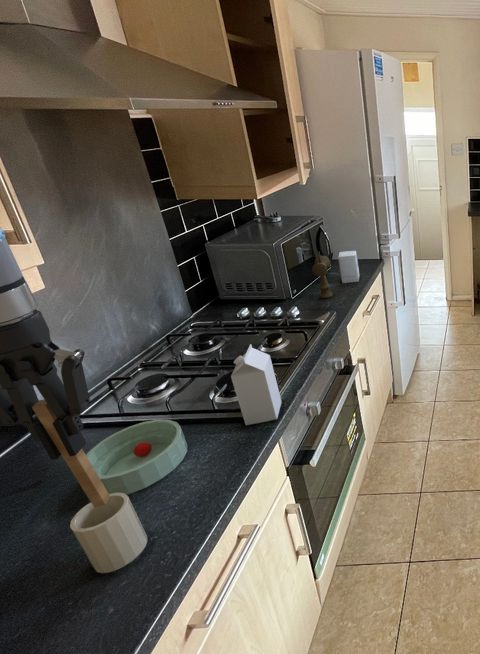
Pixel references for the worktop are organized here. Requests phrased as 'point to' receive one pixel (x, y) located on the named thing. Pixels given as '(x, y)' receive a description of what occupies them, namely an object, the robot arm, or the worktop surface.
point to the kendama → (322, 274)
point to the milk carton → (256, 387)
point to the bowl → (130, 470)
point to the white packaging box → (348, 266)
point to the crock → (109, 533)
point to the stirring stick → (74, 459)
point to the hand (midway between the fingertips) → (69, 450)
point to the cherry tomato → (142, 449)
